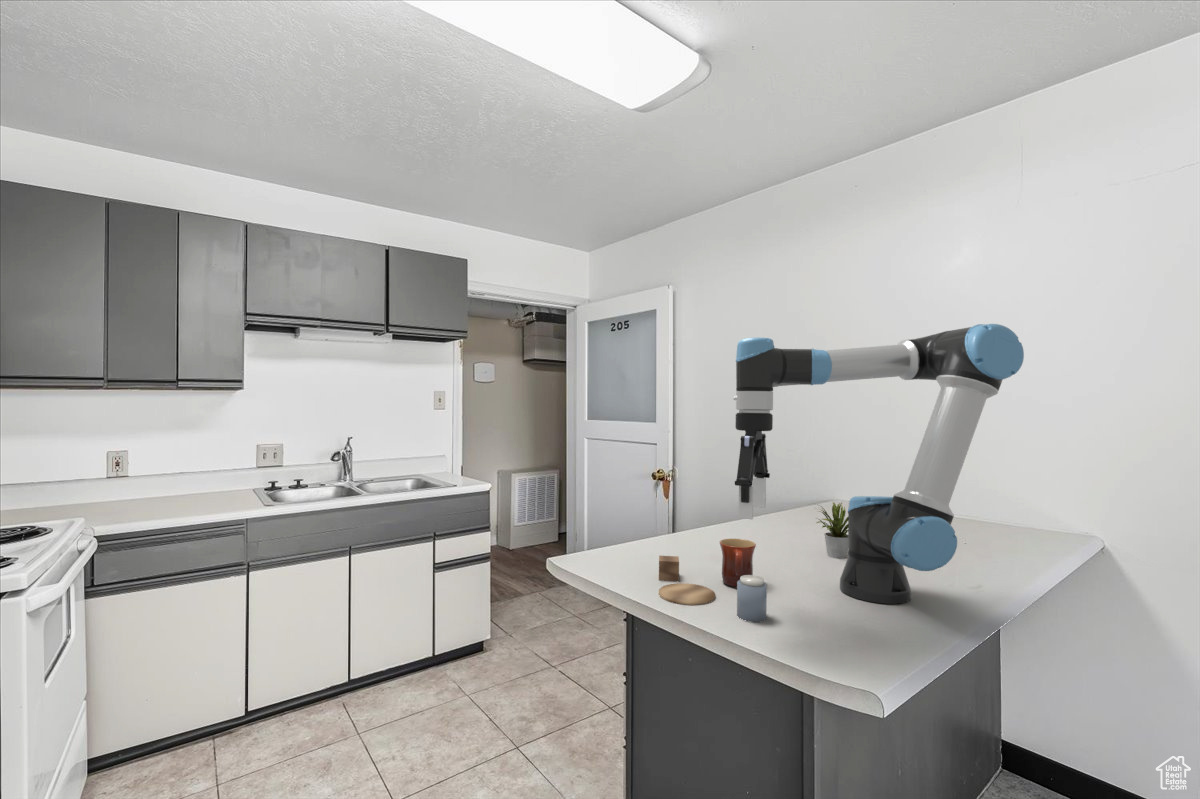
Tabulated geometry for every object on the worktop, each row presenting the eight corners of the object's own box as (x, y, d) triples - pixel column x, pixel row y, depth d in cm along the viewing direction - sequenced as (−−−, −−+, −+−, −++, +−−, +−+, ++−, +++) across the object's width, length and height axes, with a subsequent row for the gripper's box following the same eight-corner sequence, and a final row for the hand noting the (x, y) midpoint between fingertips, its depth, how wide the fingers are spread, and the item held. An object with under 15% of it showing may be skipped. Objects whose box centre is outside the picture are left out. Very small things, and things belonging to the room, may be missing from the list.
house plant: (804, 547, 174) (804, 495, 174) (850, 549, 172) (851, 497, 172) (815, 560, 160) (816, 503, 160) (866, 562, 158) (867, 505, 158)
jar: (768, 614, 118) (769, 576, 118) (763, 624, 112) (764, 584, 113) (740, 609, 121) (740, 572, 121) (733, 618, 115) (734, 580, 115)
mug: (718, 577, 142) (719, 537, 143) (754, 580, 141) (754, 539, 141) (719, 593, 131) (719, 549, 131) (757, 596, 129) (758, 551, 129)
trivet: (721, 591, 132) (721, 588, 132) (706, 609, 120) (706, 606, 120) (669, 582, 138) (669, 580, 138) (650, 598, 126) (650, 596, 126)
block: (678, 575, 144) (678, 556, 144) (678, 581, 139) (679, 561, 139) (658, 574, 144) (659, 555, 144) (658, 580, 139) (659, 560, 139)
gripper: (748, 411, 130) (747, 502, 129) (721, 412, 107) (719, 521, 107) (781, 411, 126) (780, 505, 126) (760, 412, 104) (759, 526, 104)
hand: (752, 513), depth 117 cm, fingers open, 13 cm apart
